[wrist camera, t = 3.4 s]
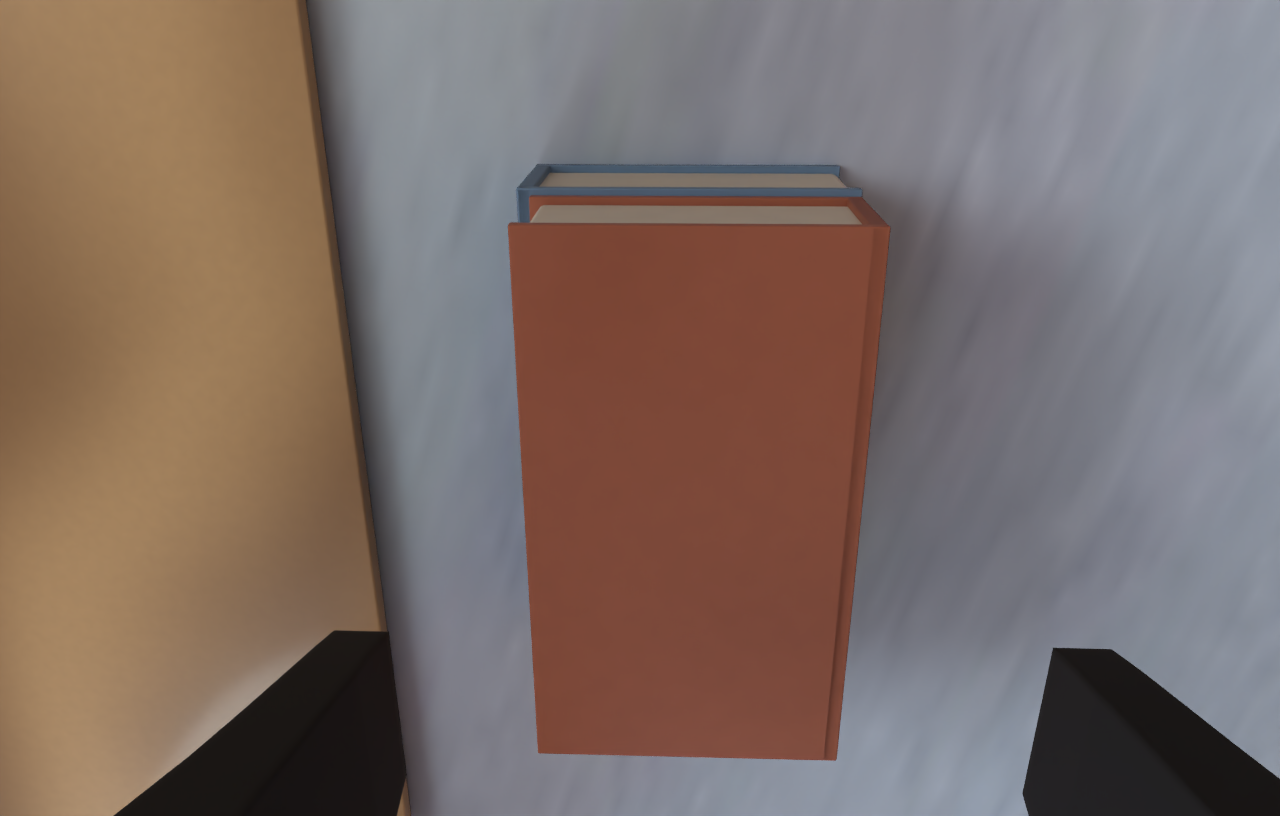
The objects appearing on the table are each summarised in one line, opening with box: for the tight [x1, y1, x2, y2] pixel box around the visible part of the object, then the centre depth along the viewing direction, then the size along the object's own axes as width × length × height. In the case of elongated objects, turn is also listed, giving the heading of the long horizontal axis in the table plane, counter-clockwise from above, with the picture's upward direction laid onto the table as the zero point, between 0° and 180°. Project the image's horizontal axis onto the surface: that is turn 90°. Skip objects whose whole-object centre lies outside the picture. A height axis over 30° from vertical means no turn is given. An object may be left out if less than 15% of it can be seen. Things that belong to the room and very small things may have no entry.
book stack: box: [508, 164, 891, 761], centre depth 16 cm, size 5×9×4 cm, turn 0°
